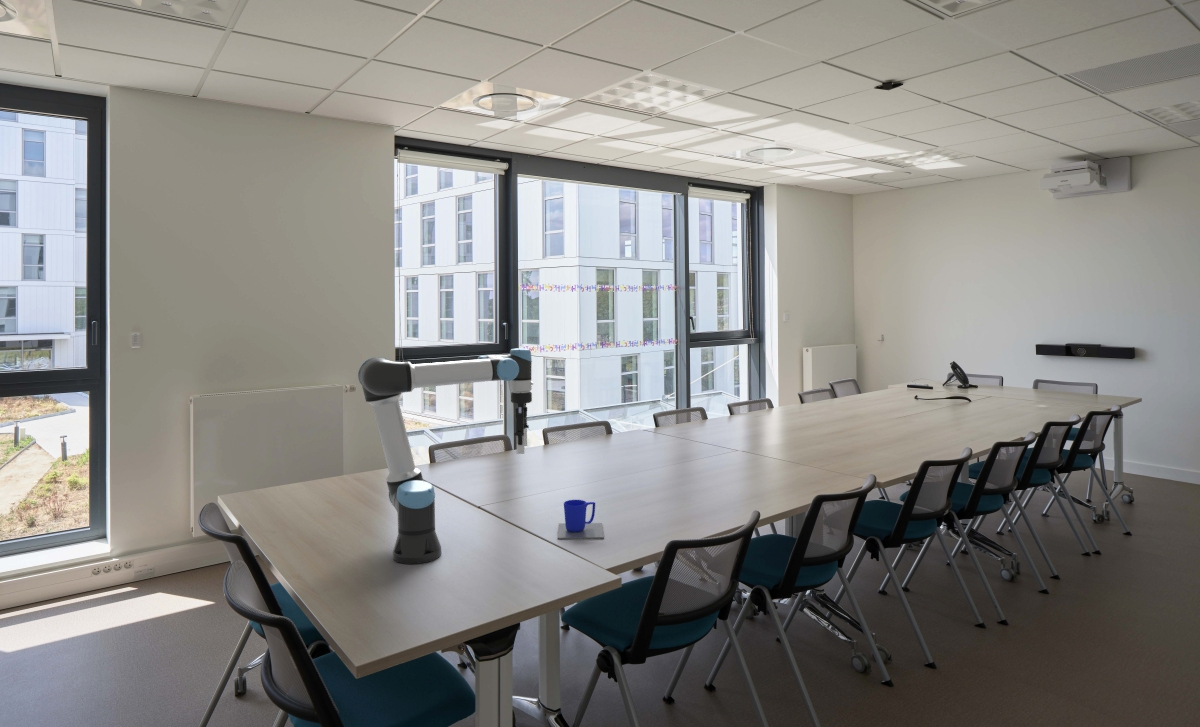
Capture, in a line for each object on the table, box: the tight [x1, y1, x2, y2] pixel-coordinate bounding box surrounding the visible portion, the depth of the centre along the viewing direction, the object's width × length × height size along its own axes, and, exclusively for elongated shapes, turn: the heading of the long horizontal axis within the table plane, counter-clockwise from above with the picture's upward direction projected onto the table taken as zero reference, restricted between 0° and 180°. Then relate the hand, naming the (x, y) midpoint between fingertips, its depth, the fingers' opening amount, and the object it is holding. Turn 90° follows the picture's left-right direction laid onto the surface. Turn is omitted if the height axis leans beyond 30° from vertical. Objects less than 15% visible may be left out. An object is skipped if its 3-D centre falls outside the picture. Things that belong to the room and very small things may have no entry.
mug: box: [563, 499, 596, 532], centre depth 251 cm, size 8×12×10 cm
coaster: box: [557, 522, 605, 541], centre depth 250 cm, size 16×16×1 cm
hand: (521, 449), depth 253 cm, fingers open, 13 cm apart
